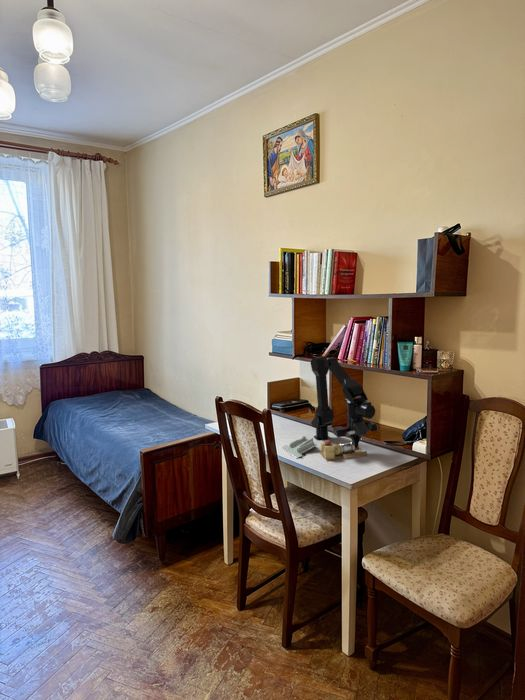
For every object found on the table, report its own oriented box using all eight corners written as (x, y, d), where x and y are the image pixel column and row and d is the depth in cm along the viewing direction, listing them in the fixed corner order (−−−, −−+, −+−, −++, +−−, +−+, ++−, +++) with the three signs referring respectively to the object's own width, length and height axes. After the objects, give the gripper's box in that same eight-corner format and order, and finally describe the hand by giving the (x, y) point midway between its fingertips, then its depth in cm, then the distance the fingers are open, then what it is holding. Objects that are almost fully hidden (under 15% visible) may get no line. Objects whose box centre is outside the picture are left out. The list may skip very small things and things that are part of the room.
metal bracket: (304, 431, 221) (320, 441, 208) (307, 442, 223) (324, 452, 209) (278, 445, 217) (293, 456, 203) (281, 456, 218) (296, 467, 205)
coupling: (337, 452, 207) (337, 441, 206) (350, 450, 208) (350, 440, 207) (342, 457, 202) (341, 445, 201) (355, 455, 203) (354, 444, 202)
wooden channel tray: (319, 454, 208) (318, 438, 207) (357, 448, 212) (357, 433, 210) (327, 462, 198) (327, 446, 197) (367, 456, 202) (367, 440, 201)
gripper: (341, 422, 193) (343, 458, 196) (383, 415, 197) (384, 450, 200) (331, 414, 204) (333, 448, 207) (370, 408, 208) (372, 441, 211)
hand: (356, 447), depth 206 cm, fingers closed
